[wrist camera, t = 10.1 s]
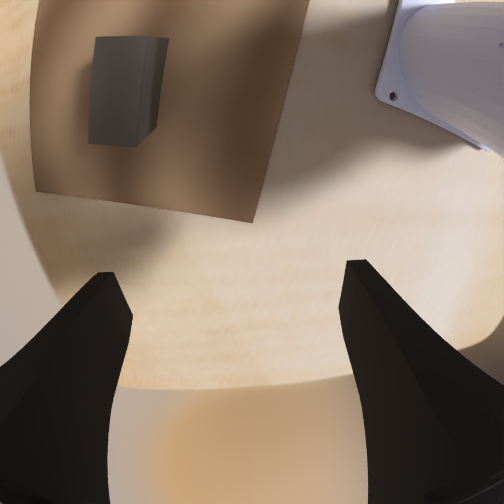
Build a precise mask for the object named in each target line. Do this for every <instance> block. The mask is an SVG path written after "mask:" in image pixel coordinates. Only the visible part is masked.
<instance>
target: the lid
mask: <svg viewBox="0 0 504 504" xmlns="http://www.w3.org/2000/svg"><path fill="white" fill-rule="evenodd" d="M309 1H310V0H39V6H38V11H37V17H36V24H35V31H34V39H33V49H32V61H31V77H30V130H31V148H32V160H33V170H34V179H35V187H36V192H44V193H53V194H61V195H69V196H76V197H84V198H92V199H99V200H106V201H114V202H121V203H128V204H135V205H141V206H148V207H155V208H162V209H168V210H175V211H181V212H188V213H194V214H200V215H206V216H212V217H219V218H225V219H231V220H237V221H242V222H248V223H253V220H254V216H255V212H256V208H257V204H258V200H259V196H260V192H261V188H262V184H263V180H264V176H265V172H266V168H267V164H268V160H269V156H270V152H271V148H272V144H273V141H274V137H275V133H276V129H277V125H278V121H279V117H280V113H281V109H282V105H283V101H284V97H285V93H286V89H287V86H288V82H289V78H290V74H291V70H292V66H293V62H294V58H295V54H296V51H297V47H298V43H299V39H300V35H301V31H302V27H303V24H304V20H305V16H306V12H307V8H308V5H309Z"/></svg>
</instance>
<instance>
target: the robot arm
mask: <svg viewBox="0 0 504 504" xmlns="http://www.w3.org/2000/svg"><path fill="white" fill-rule="evenodd" d="M392 92H394V94H395V97H394V99H392V100H390V98H389V95H390V93H392ZM375 96H376V97H377V99H379V100H380V101H382V102H385V103H387V104H390V105H393V106H395V107H398V108H400V109H402V110H405V111H407V112H410V113H412V114H414V115H417V116H419V117H421V118H423V119H425V120H428V121H430V122H432V123H434V124H436V125H438V126H440V127H442V128H444V129H446V130H448V131H450V132H452V133H454V134H456V135H458V136H460V137H462V138H464V139H466V140H468V141H469V142H471V143H473V144H475V145H477V146H478V147H480V148H482V149H484V150H485V151H488V152H489V151H491V150H492V151H494V152H495V153H497V154H498V155H500V156H501V157H503V158H504V2H456V1H454V0H399V3H398V7H397V11H396V15H395V19H394V23H393V27H392V31H391V35H390V39H389V42H388V46H387V50H386V53H385V57H384V60H383V64H382V67H381V71H380V74H379V78H378V81H377V84H376V88H375ZM339 314H340V320H341V326H342V332H343V337H344V341H345V345H346V348H347V352H348V355H349V359H350V362H351V366H352V370H353V373H354V377H355V381H356V384H357V388H358V392H359V395H360V401H361V405H362V411H363V419H364V427H365V436H366V447H367V460H368V461H367V462H368V504H504V385H502V384H501V383H499V382H498V381H496V380H495V379H493V378H492V377H490V376H489V375H487V374H486V373H485V372H483V371H482V370H481V369H479V368H478V367H477V366H475V365H474V364H473V363H471V362H470V361H469V360H468V359H466V358H465V357H464V356H463V355H461V354H460V353H459V352H458V351H457V350H456V349H454V348H453V347H452V346H451V345H450V344H449V343H447V342H446V341H445V340H444V339H443V338H442V337H441V336H440V335H438V334H437V333H436V332H435V331H434V330H433V329H432V328H431V327H430V326H429V325H428V324H427V323H426V322H425V321H424V320H423V319H422V318H421V317H420V316H419V315H418V314H417V313H416V312H415V311H414V310H413V309H412V308H411V307H410V306H409V305H408V304H407V303H406V302H405V301H404V300H403V299H402V298H401V297H400V295H399V294H398V293H397V292H396V291H395V290H394V289H393V288H392V287H391V286H390V285H389V284H388V283H387V281H386V280H385V279H384V278H383V277H382V276H381V275H380V274H379V273H378V272H377V271H376V270H375V268H374V267H373V266H372V265H371V264H370V263H369V262H368V261H367V260H366V259H365V260H349V261H347V263H346V269H345V275H344V281H343V286H342V292H341V297H340V302H339ZM132 319H133V314H132V312H131V310H130V308H129V306H128V304H127V301H126V299H125V297H124V295H123V293H122V290H121V288H120V286H119V283H118V281H117V279H116V276H115V274H114V272H100V273H97V274H96V275H95V276H93V277H92V278H91V279H90V280H89V281H88V282H87V283H86V284H85V285H84V286H83V287H82V288H81V289H80V290H79V291H78V292H77V293H76V294H75V295H74V296H73V297H72V298H71V299H70V300H69V301H68V302H67V303H66V304H65V305H64V307H63V308H62V309H61V310H60V311H59V312H58V313H57V314H56V315H55V316H54V317H53V318H52V319H51V320H50V321H49V322H48V323H47V324H46V325H45V326H44V327H43V328H42V329H41V330H40V331H39V332H38V333H37V334H36V335H35V336H34V337H33V338H32V339H31V340H30V341H29V342H28V343H27V344H26V345H25V346H24V347H23V348H22V349H21V350H20V351H19V352H17V353H16V354H15V355H14V356H13V357H12V358H11V359H10V360H9V361H7V362H6V363H5V364H3V365H2V366H1V367H0V504H110V499H109V488H108V469H107V453H108V432H109V423H110V414H111V408H112V403H113V398H114V394H115V391H116V387H117V383H118V379H119V376H120V372H121V368H122V365H123V361H124V358H125V354H126V351H127V347H128V343H129V338H130V332H131V325H132Z"/></svg>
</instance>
